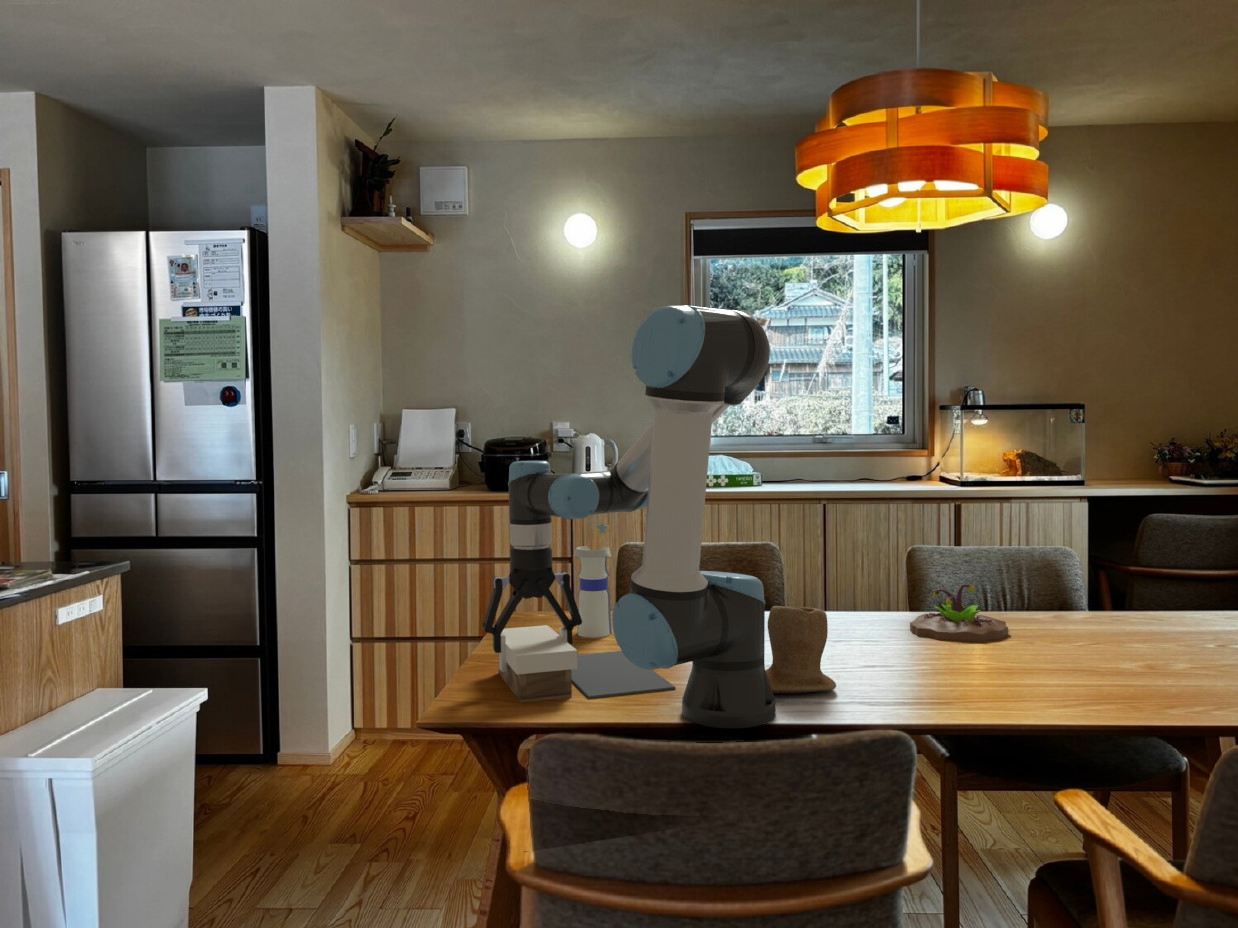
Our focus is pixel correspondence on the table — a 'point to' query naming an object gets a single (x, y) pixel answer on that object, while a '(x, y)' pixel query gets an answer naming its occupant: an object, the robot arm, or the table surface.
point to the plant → (958, 622)
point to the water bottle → (594, 590)
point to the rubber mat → (614, 676)
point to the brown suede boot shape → (797, 650)
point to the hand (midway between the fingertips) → (533, 666)
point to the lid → (538, 650)
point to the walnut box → (538, 684)
